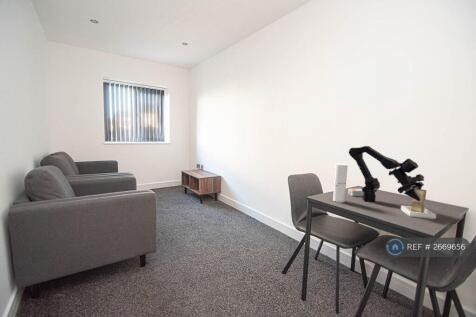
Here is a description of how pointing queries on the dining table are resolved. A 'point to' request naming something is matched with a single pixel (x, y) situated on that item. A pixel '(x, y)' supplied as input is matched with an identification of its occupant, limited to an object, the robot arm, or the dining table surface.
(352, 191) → the skincare box
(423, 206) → the oak block
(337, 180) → the cylindrical container
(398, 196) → the dining table surface
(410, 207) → the tray
